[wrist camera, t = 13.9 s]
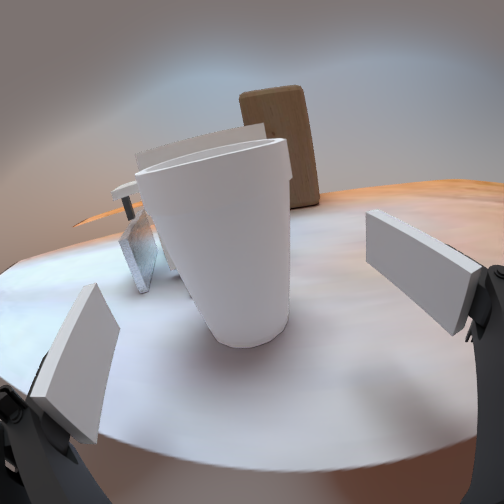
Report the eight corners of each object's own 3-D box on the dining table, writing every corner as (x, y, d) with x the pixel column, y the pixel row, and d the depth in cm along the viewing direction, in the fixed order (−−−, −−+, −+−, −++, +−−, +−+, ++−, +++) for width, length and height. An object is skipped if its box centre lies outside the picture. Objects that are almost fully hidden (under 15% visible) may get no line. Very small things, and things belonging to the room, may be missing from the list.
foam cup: (326, 298, 22) (310, 134, 16) (267, 383, 15) (214, 161, 10) (237, 279, 27) (206, 149, 22) (170, 337, 21) (110, 181, 15)
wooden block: (261, 215, 44) (237, 92, 35) (260, 198, 53) (241, 99, 44) (321, 205, 43) (302, 83, 34) (310, 191, 52) (294, 91, 43)
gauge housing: (293, 269, 27) (273, 147, 22) (133, 312, 25) (86, 199, 20) (252, 217, 43) (237, 143, 38) (152, 244, 42) (130, 172, 36)
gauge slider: (283, 240, 30) (263, 122, 25) (137, 279, 28) (99, 167, 23) (270, 225, 35) (251, 125, 30) (144, 259, 33) (113, 162, 28)
